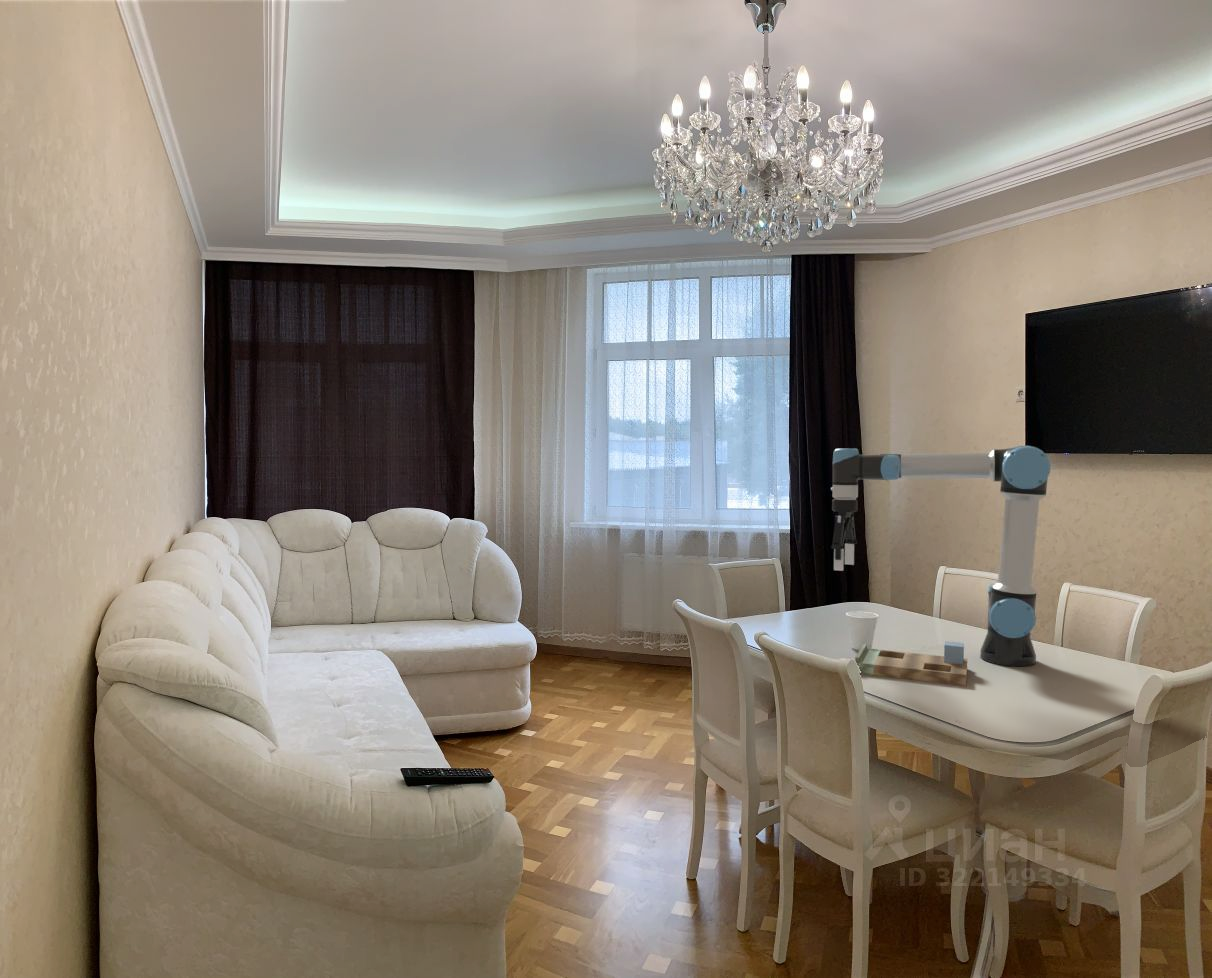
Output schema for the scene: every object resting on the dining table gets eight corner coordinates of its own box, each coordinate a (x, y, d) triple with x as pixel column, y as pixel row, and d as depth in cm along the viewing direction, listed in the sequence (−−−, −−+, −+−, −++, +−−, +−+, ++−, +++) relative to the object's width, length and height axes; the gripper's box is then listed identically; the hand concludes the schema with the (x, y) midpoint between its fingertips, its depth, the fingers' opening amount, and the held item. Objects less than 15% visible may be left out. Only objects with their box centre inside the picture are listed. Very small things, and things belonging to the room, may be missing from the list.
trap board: (967, 669, 240) (967, 653, 239) (965, 685, 223) (966, 669, 223) (863, 657, 252) (863, 643, 251) (854, 672, 235) (855, 657, 235)
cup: (879, 653, 257) (880, 618, 256) (846, 651, 259) (847, 617, 258) (875, 645, 266) (876, 612, 266) (843, 644, 268) (844, 610, 268)
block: (963, 660, 238) (964, 643, 238) (963, 664, 233) (963, 646, 233) (944, 658, 240) (945, 641, 240) (944, 662, 236) (944, 645, 235)
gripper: (842, 495, 266) (841, 561, 267) (821, 500, 245) (821, 572, 246) (866, 496, 262) (865, 562, 264) (847, 501, 241) (846, 573, 242)
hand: (844, 567), depth 255 cm, fingers open, 13 cm apart
